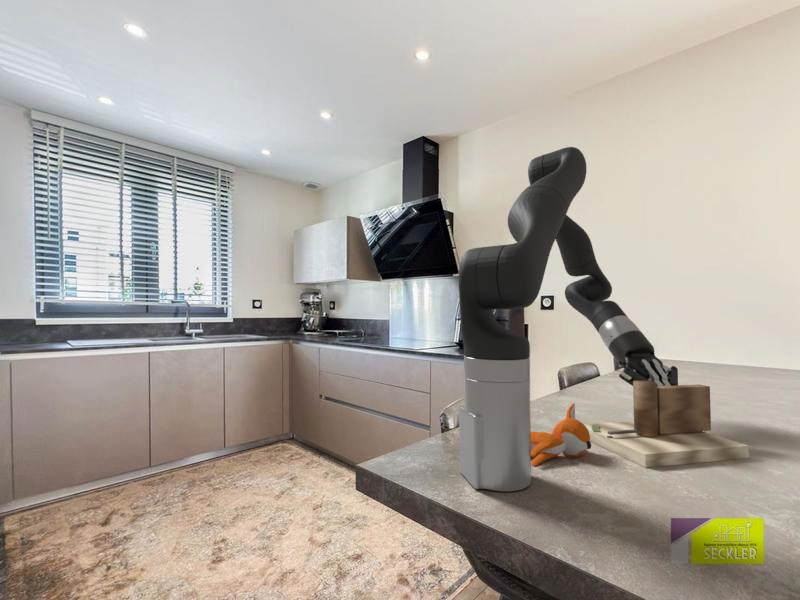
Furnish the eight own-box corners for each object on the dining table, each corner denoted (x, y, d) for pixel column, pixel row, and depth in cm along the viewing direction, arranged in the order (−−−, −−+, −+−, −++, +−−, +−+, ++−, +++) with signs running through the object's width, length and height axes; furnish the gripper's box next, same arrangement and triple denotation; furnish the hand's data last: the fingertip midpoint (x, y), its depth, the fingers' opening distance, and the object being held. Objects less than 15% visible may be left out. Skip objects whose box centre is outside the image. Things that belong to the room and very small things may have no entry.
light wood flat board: (645, 467, 59) (645, 452, 59) (576, 435, 74) (576, 423, 74) (749, 458, 63) (748, 444, 63) (663, 429, 78) (663, 418, 78)
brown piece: (616, 439, 65) (615, 385, 65) (601, 432, 68) (600, 381, 69) (715, 432, 69) (714, 381, 69) (696, 426, 72) (695, 378, 73)
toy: (563, 445, 55) (603, 407, 65) (445, 413, 71) (491, 388, 81) (568, 498, 55) (607, 453, 65) (450, 455, 72) (495, 424, 82)
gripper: (607, 329, 81) (659, 400, 68) (660, 329, 83) (719, 397, 71) (590, 352, 86) (635, 422, 73) (640, 351, 88) (692, 419, 76)
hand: (676, 410), depth 72 cm, fingers closed
